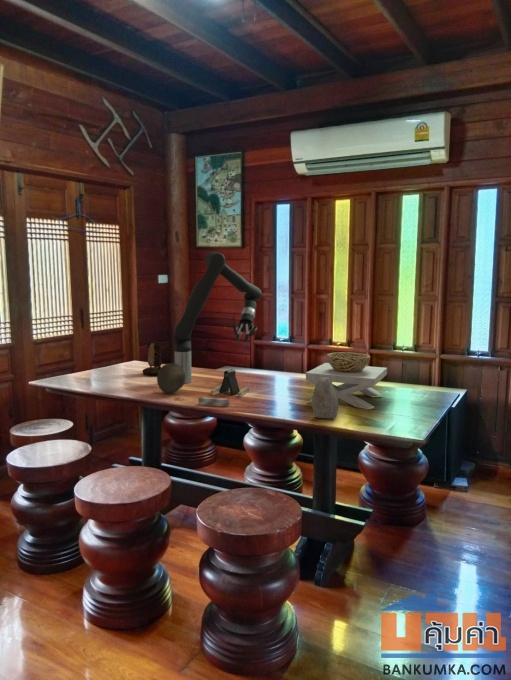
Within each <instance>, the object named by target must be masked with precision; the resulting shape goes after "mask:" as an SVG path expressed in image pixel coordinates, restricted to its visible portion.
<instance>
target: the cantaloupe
mask: <svg viewBox="0 0 511 680" xmlns="http://www.w3.org/2000/svg"><path fill="white" fill-rule="evenodd" d="M156 376H157V377H156V383H157V386H158V388H159V389H160V390H161V392H162V393H165V394H174V393H176V392H178V391H179V390H181V389H182V388H183V386H184V385H185V384H186V383H185V379H186V375H185V372H184V370H183V368H182V367H181V366H179V365H178V364H175V362H172V363H171V362H169V363H165V364H164V365H161V369H160V370H159V372H158V374H156Z"/></svg>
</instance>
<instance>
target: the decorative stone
mask: <svg viewBox="0 0 511 680" xmlns="http://www.w3.org/2000/svg"><path fill="white" fill-rule="evenodd" d="M333 384H334V383H333V382H331V380H330V379H329V378H326V377H323V378H321V379H319V380H318V382H317V384H316V385H315V387H314V389H313V392H312V397H311V399H312V403H311V406H312V414H313V416H314V417H315V418H317V419H327V420H334V419H335V418H336V417H337V412H338V409H339V401H338V400H339V398H338V396H337V393H336V391H335V388H334V386H333Z"/></svg>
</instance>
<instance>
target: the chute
mask: <svg viewBox="0 0 511 680" xmlns="http://www.w3.org/2000/svg"><path fill="white" fill-rule="evenodd" d="M221 385H222V384H220V385H217V386H216V387H214V388H213V389H211V390H210V396H215V394H216V395H217V394H218V393H219V391H220V388H221ZM248 391H249V392H250V387H249V386H246V387H244V388H242V389H241V390H240V392H238V394H237V397H239V398H243V397H244V396H245V395H246V394H248V393H249V392H248ZM243 395H244V396H243ZM198 405H200V406H201V405H202V406H215V407H229V406H230V398H218V397H205V396H202V397H201V396H200V397H198Z"/></svg>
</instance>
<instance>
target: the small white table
mask: <svg viewBox="0 0 511 680" xmlns="http://www.w3.org/2000/svg"><path fill="white" fill-rule="evenodd" d="M326 360H327V362H324V363H322V364H320V365H318V366H317V367H315V368H313V369H311V370H309V371H306V372H305V380H306V381H307V382H309V383H311V384H313V385H315V386H316V384H317V382H318V380H319V379H321V378H323V377H326V378H329V379H330V380H331V382H332V384H333V386H334V388H335V391H336V393H337V396H338V399H340V400H342V401H344V402H346V403H348V404H349V405H351V406H353V407H355V408H356V407H360V408H370V407H371V405H372V404H370V403H369V402H367V401H365V400H363V399H362V398H360V397H358V396H356V395H354V394H355V393H357V392H360V393H362V394H364V395H365V396H367V395H370V396H380V394H382V393H381V392H379V391H377V390H375V389H374V388H373V387H375V386H376V385H377V384H378V383H380V382H381V381H382V379H383V378H385V377H386V376H387V374H388V367H383V366H382V367H381V366H369V365H368V364H369V363H370V360H371V356H370V355H369V354H366V353H362V352H349V351H348V352H347V351H343V352H339V351H337V352H330V353H327V354H326ZM334 383H336V384H337V383H338V385H336V384H334ZM339 383H340V384H339ZM309 400H310V401H309ZM309 400H308V401H307V402H308V403H307V404H312V398H311V399H309Z"/></svg>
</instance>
